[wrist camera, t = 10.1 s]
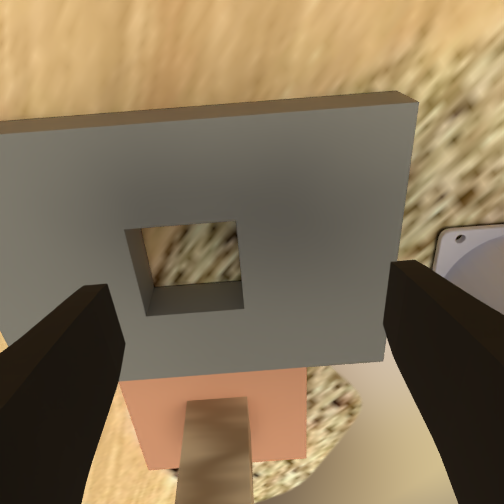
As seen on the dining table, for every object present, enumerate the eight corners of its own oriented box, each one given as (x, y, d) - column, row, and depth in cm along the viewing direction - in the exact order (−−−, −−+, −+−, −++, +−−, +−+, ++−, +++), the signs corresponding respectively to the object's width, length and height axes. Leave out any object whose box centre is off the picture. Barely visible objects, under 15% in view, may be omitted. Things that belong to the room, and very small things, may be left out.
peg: (246, 396, 27) (251, 527, 20) (250, 433, 29) (256, 564, 22) (187, 401, 27) (171, 533, 20) (195, 438, 29) (183, 569, 22)
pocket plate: (396, 90, 18) (419, 102, 16) (370, 331, 25) (383, 361, 23) (-57, 125, 18) (-96, 141, 16) (46, 355, 25) (29, 388, 23)
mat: (305, 359, 26) (306, 364, 26) (305, 453, 31) (306, 458, 31) (119, 373, 26) (117, 378, 26) (149, 465, 31) (148, 470, 31)
